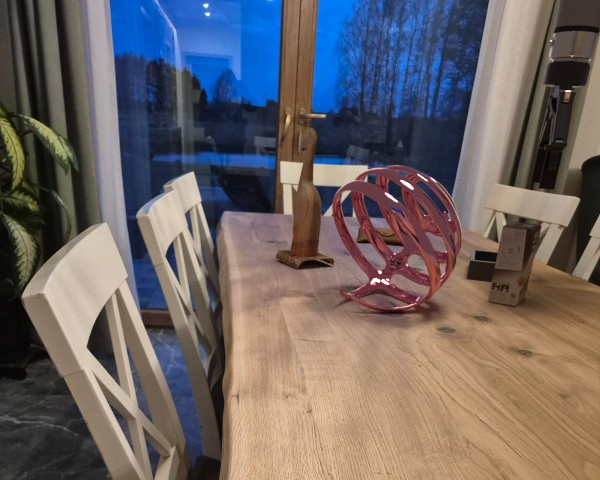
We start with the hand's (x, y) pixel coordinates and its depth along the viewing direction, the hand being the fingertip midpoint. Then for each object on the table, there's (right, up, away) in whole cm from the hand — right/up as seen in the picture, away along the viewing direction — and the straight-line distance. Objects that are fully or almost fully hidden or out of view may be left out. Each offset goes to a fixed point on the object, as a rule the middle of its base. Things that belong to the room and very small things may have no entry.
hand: (541, 185), depth 114 cm
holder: (+1, -10, +34) cm, 36 cm away
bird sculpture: (-47, -7, +35) cm, 59 cm away
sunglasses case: (-21, +7, +67) cm, 70 cm away
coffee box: (-2, -20, +14) cm, 25 cm away
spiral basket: (-29, -22, +7) cm, 37 cm away
